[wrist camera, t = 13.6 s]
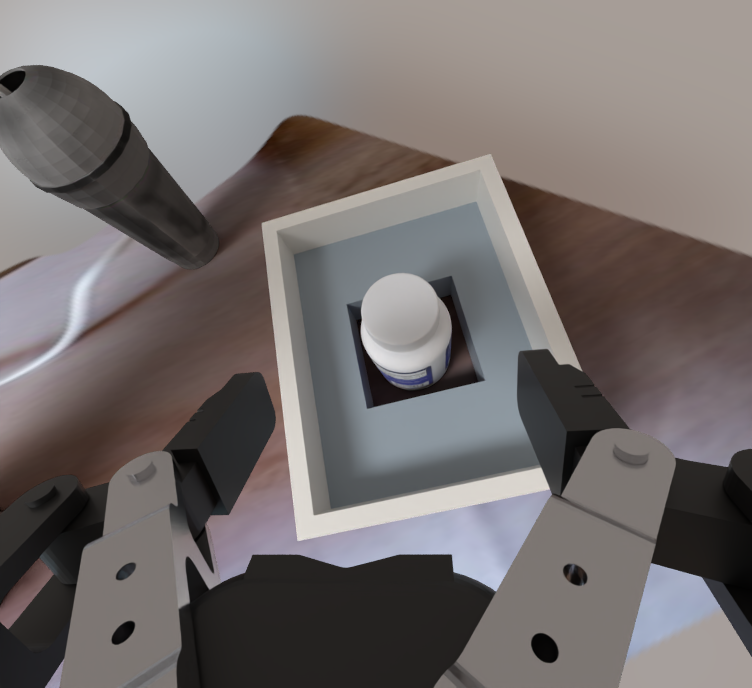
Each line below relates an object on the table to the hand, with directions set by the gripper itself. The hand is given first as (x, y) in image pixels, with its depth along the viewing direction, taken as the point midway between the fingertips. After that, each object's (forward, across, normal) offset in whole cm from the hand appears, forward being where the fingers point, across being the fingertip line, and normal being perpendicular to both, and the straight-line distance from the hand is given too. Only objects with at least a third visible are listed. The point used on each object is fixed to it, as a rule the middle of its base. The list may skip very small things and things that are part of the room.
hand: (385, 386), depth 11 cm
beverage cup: (+23, +19, -2) cm, 30 cm away
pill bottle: (+14, 0, +7) cm, 15 cm away
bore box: (+14, 0, +6) cm, 15 cm away
